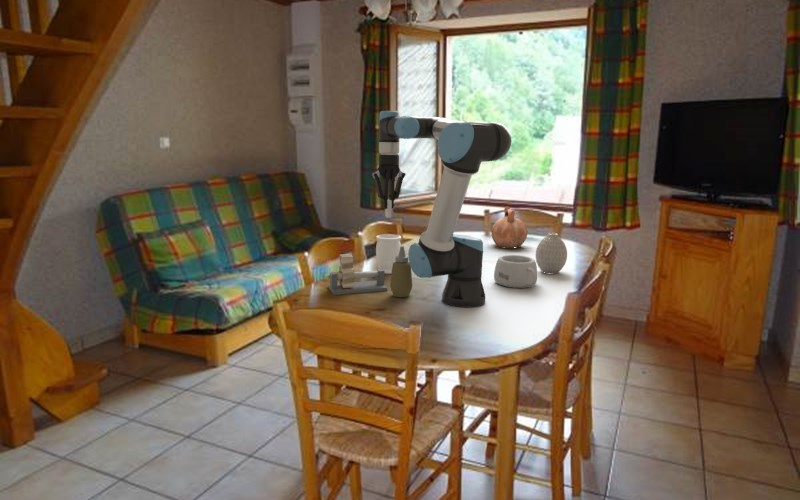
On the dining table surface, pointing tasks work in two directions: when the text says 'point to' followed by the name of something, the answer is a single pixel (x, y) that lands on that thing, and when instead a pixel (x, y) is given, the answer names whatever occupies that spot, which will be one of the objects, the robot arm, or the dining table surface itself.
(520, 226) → the jug
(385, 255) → the jar
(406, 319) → the dining table surface
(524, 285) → the mug
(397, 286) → the squeeze bottle
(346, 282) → the cream wooden block stack
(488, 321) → the dining table surface
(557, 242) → the vase
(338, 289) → the grey slider rail stand
